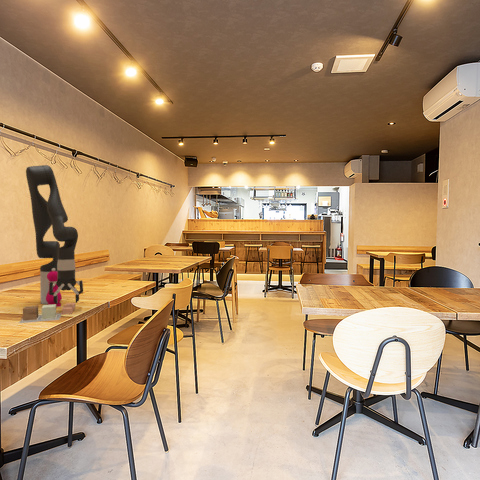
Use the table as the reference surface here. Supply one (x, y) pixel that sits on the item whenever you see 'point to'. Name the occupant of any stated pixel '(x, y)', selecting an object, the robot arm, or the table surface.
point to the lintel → (68, 308)
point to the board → (42, 319)
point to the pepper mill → (50, 298)
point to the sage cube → (48, 311)
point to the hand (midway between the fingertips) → (66, 303)
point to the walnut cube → (30, 313)
